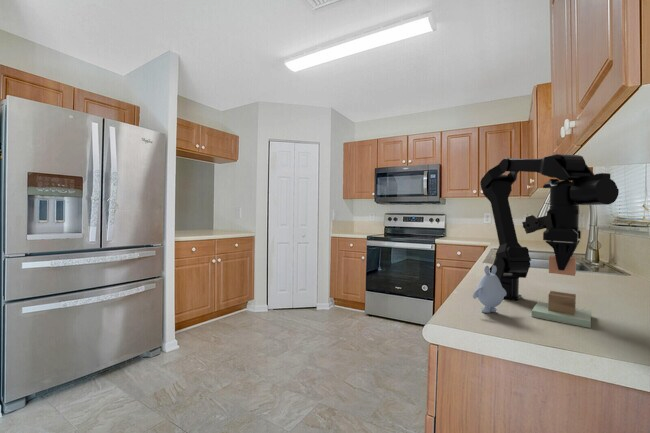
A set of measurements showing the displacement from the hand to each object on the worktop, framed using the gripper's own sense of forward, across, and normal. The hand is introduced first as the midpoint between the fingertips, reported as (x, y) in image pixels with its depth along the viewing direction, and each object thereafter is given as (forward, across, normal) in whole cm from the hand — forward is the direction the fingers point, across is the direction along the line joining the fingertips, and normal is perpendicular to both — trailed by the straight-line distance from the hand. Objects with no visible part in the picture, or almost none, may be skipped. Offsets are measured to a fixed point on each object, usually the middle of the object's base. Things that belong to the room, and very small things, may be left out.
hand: (562, 268), depth 76 cm
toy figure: (+12, +9, -14) cm, 21 cm away
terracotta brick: (+1, 0, 0) cm, 1 cm away
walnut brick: (+10, 0, 0) cm, 10 cm away
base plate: (+12, 0, 0) cm, 12 cm away
